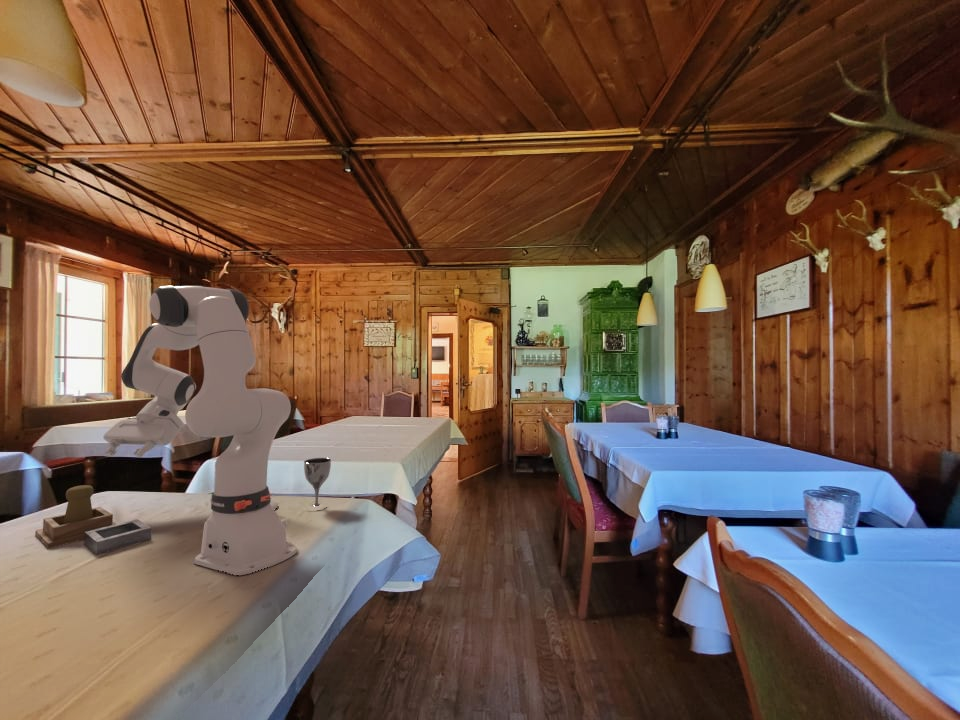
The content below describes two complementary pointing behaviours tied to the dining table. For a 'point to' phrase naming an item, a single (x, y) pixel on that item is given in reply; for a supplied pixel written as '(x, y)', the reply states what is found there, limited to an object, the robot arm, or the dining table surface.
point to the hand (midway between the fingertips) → (122, 455)
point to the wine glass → (317, 473)
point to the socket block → (117, 536)
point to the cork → (78, 504)
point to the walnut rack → (71, 528)
